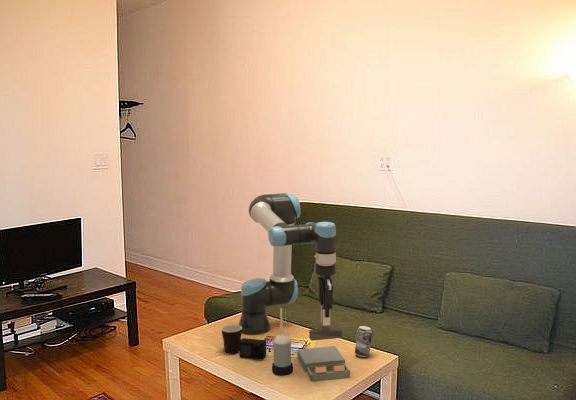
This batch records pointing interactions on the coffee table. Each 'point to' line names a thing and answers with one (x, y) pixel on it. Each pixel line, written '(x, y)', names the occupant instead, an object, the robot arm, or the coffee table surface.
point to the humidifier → (282, 353)
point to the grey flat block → (319, 356)
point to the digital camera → (252, 348)
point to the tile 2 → (338, 368)
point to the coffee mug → (231, 338)
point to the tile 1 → (320, 370)
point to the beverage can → (363, 341)
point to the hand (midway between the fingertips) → (325, 323)
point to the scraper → (325, 332)
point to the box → (328, 372)
